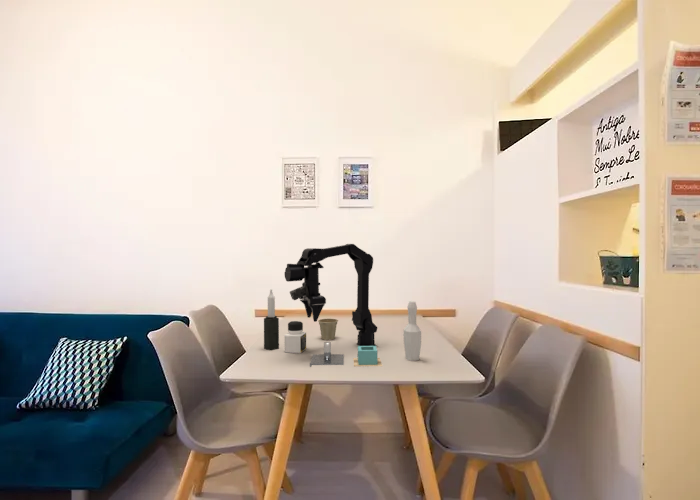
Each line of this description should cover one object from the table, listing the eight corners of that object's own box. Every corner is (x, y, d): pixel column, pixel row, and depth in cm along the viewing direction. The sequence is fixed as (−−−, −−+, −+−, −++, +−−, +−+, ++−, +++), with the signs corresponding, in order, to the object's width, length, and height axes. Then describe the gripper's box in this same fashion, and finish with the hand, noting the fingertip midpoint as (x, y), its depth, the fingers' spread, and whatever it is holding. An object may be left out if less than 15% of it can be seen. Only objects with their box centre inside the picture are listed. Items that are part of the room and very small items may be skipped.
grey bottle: (400, 359, 145) (400, 301, 145) (414, 357, 147) (414, 300, 147) (409, 363, 139) (409, 303, 139) (424, 361, 141) (424, 302, 141)
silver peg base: (312, 357, 148) (312, 339, 148) (343, 356, 148) (343, 338, 148) (309, 366, 136) (309, 346, 136) (343, 366, 136) (343, 346, 136)
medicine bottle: (300, 353, 153) (300, 323, 153) (284, 352, 155) (284, 322, 155) (306, 348, 160) (306, 320, 160) (290, 348, 162) (290, 319, 162)
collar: (357, 359, 142) (357, 345, 142) (375, 359, 143) (375, 345, 143) (358, 364, 136) (358, 350, 136) (377, 364, 136) (377, 350, 136)
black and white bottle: (273, 346, 165) (272, 288, 165) (280, 348, 161) (279, 289, 161) (262, 348, 161) (262, 289, 161) (269, 350, 158) (269, 290, 157)
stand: (353, 359, 144) (353, 347, 144) (379, 359, 144) (379, 347, 144) (354, 368, 134) (354, 354, 134) (382, 367, 134) (382, 354, 134)
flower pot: (337, 341, 173) (337, 322, 173) (317, 341, 173) (317, 322, 173) (338, 336, 182) (338, 318, 182) (319, 336, 183) (319, 318, 183)
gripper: (286, 279, 157) (287, 317, 157) (296, 283, 139) (297, 325, 139) (312, 278, 161) (313, 315, 161) (326, 281, 143) (326, 323, 143)
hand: (312, 319), depth 151 cm, fingers open, 9 cm apart
